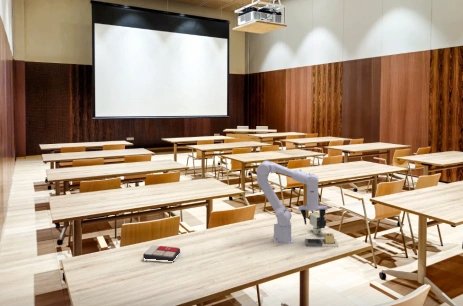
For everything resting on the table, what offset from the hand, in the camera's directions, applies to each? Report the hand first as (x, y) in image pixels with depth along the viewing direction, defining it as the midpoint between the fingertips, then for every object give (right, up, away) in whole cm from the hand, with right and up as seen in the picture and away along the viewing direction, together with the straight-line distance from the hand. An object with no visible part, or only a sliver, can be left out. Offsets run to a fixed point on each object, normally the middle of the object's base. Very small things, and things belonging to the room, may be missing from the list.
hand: (312, 223), depth 192 cm
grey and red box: (-76, -15, -11) cm, 78 cm away
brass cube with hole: (+8, -10, -1) cm, 13 cm away
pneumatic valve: (+6, -8, +14) cm, 17 cm away
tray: (+4, -11, -1) cm, 11 cm away
